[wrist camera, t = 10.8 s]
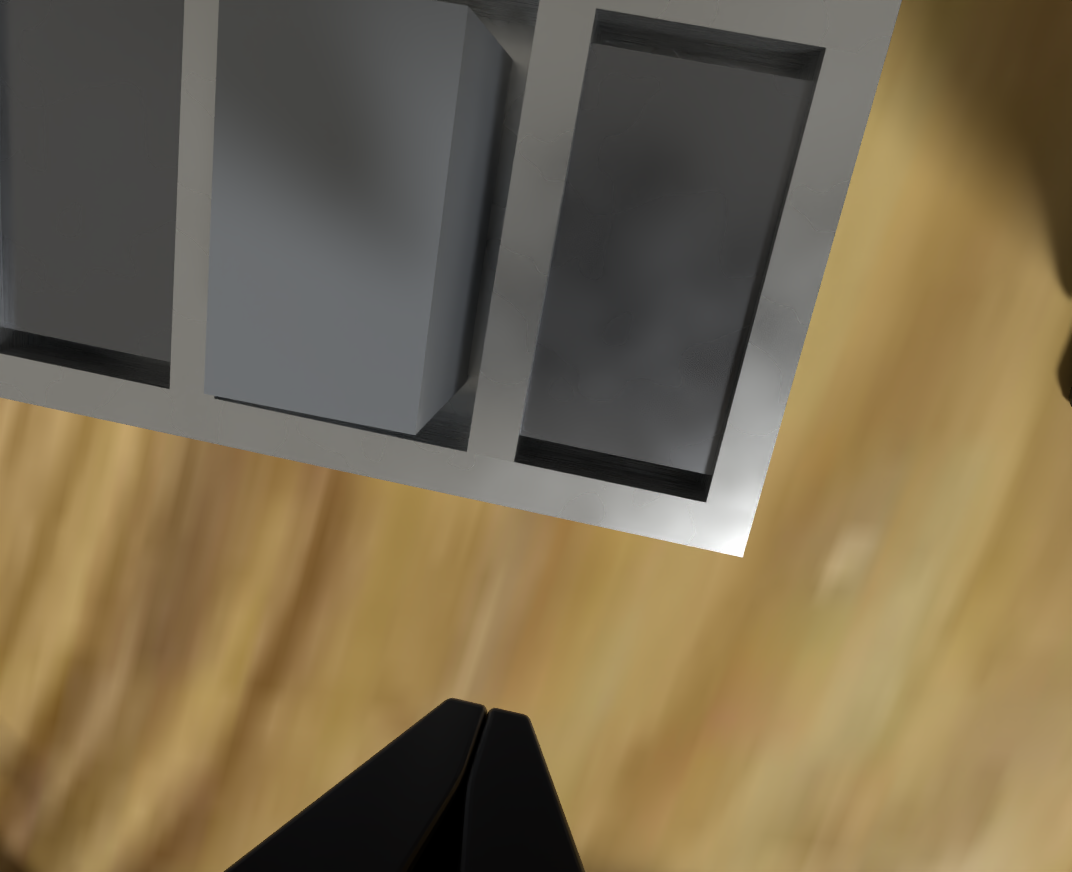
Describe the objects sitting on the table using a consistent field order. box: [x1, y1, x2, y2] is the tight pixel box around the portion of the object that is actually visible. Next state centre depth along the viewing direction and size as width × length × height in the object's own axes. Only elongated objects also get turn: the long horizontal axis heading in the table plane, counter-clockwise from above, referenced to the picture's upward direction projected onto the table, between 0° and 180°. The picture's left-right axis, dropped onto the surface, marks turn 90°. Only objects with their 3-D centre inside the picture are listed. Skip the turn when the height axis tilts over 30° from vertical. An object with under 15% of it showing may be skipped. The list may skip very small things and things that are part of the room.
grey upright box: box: [204, 0, 512, 435], centre depth 15 cm, size 4×7×4 cm, turn 170°
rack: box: [0, 0, 902, 557], centre depth 17 cm, size 18×11×4 cm, turn 79°
